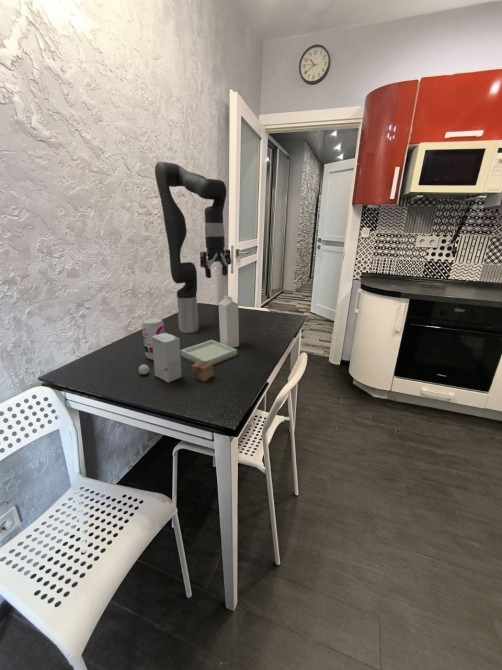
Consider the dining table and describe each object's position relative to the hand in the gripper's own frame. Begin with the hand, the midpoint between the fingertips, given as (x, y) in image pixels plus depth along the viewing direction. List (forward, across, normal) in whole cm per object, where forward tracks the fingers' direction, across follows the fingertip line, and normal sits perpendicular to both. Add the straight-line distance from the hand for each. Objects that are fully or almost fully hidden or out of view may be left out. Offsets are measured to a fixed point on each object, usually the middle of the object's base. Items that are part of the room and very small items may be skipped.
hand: (216, 276), depth 126 cm
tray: (+30, +12, +7) cm, 33 cm away
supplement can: (+30, +27, -8) cm, 41 cm away
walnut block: (+30, +25, +20) cm, 44 cm away
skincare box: (+30, +33, +11) cm, 46 cm away
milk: (+30, -1, +5) cm, 30 cm away
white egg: (+28, +38, +3) cm, 47 cm away
